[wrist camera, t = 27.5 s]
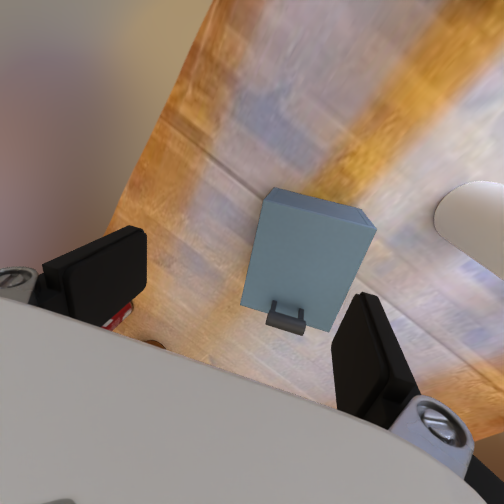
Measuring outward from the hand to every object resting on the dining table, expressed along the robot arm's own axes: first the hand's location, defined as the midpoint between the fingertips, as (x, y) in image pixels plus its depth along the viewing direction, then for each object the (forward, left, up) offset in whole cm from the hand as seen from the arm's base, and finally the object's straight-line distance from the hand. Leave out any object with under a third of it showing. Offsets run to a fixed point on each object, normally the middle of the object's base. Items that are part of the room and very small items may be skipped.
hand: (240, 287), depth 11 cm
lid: (+9, +4, -21) cm, 24 cm away
